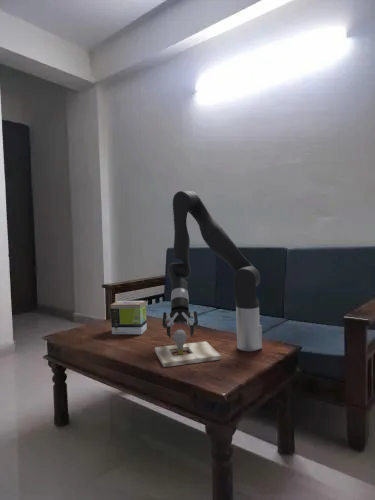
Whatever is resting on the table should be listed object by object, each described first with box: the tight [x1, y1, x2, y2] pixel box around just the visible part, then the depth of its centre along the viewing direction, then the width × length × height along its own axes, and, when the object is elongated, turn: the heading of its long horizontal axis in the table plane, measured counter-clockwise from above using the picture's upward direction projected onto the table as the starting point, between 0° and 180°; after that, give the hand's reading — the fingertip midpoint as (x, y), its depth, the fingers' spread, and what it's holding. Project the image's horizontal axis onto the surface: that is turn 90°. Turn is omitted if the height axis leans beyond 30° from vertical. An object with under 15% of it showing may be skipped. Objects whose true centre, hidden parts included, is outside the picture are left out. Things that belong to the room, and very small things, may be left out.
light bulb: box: [172, 329, 188, 355], centre depth 141 cm, size 6×6×10 cm
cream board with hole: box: [154, 341, 222, 368], centre depth 141 cm, size 22×18×2 cm
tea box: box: [109, 300, 148, 335], centre depth 175 cm, size 15×10×15 cm, turn 80°
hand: (180, 336), depth 141 cm, fingers open, 8 cm apart
